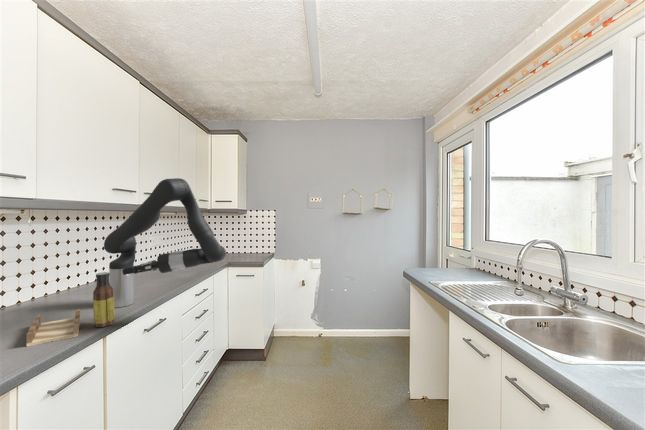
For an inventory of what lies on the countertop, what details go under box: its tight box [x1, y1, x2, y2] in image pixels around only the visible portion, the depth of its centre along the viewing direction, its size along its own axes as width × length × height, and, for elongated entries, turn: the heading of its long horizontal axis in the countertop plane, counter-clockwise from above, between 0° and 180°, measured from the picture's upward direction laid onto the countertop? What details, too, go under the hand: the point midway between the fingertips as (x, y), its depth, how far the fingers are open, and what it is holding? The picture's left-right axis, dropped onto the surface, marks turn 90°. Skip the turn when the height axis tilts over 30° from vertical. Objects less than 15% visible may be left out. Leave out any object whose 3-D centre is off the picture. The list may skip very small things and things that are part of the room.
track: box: [26, 308, 81, 347], centre depth 102 cm, size 20×12×4 cm, turn 39°
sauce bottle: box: [92, 271, 116, 328], centre depth 108 cm, size 6×6×20 cm
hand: (128, 270), depth 110 cm, fingers open, 8 cm apart
